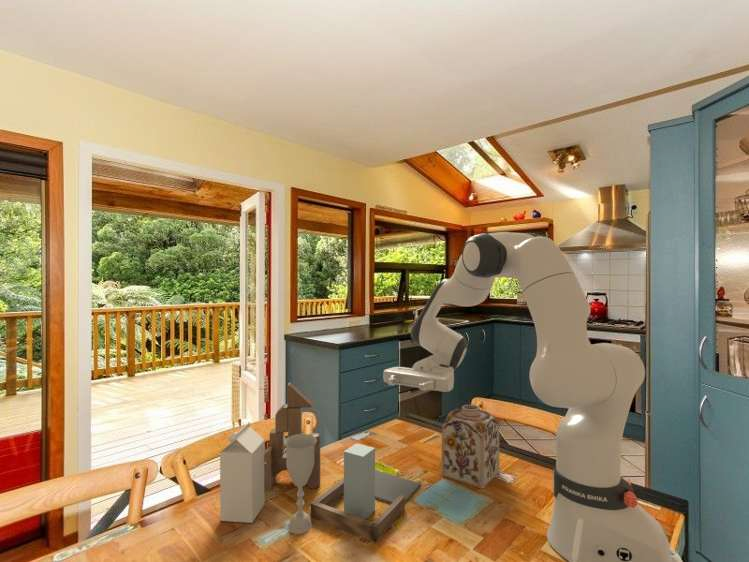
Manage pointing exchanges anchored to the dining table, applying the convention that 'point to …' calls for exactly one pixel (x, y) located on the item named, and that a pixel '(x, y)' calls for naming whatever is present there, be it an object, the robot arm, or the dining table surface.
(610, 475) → the robot arm
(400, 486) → the dark grey flat plate
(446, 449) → the decorative jar
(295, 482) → the chalice
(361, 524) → the wooden rectangular frame
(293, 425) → the wooden toy
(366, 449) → the block
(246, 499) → the milk carton
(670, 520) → the dining table surface
